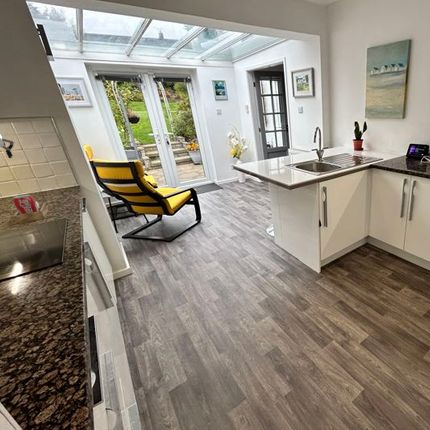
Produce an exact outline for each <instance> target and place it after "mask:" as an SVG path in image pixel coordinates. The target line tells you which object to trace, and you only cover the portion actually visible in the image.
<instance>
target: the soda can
mask: <svg viewBox="0 0 430 430" xmlns="http://www.w3.org/2000/svg"><path fill="white" fill-rule="evenodd" d="M35 201H36V199H34V197H33V196H31V194H29V193H28V194H27V193H26V194H20V195H15V196H13V204H14V206H15V208H16V211H18V212H19V214H20V215H22V214H27V213H33V212H38V211H39V209H38V207H37V205H36V202H35Z"/></svg>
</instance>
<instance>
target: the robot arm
mask: <svg viewBox="0 0 430 430" xmlns="http://www.w3.org/2000/svg"><path fill="white" fill-rule="evenodd" d="M6 143H8V144H9V145H7V144H6ZM14 146H15V141H14V140H11V139H7V138H4V137H3V136H2V134H1V133H0V148H2V149H4V150H5V153H6V155H7V157H8V158H9V159H13V157H14V155H13V153H12V148H14Z"/></svg>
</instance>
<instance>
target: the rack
mask: <svg viewBox="0 0 430 430" xmlns="http://www.w3.org/2000/svg"><path fill="white" fill-rule="evenodd" d="M38 204H39V206H40V207H38V209H39V211H38V212H33V213H27V214H22V215H20V214H19V212H18V210H16V212H15V214H14V215H13V218H14V220H15V221H16V223H17V224H18V225H19V224H24V223H28V222H29V223H30V222H35V221H39V220H44V219H46V217H47V214H48V212H49V211H48V210H49V208H48V206H47V204H46V202H41V203H38Z"/></svg>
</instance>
